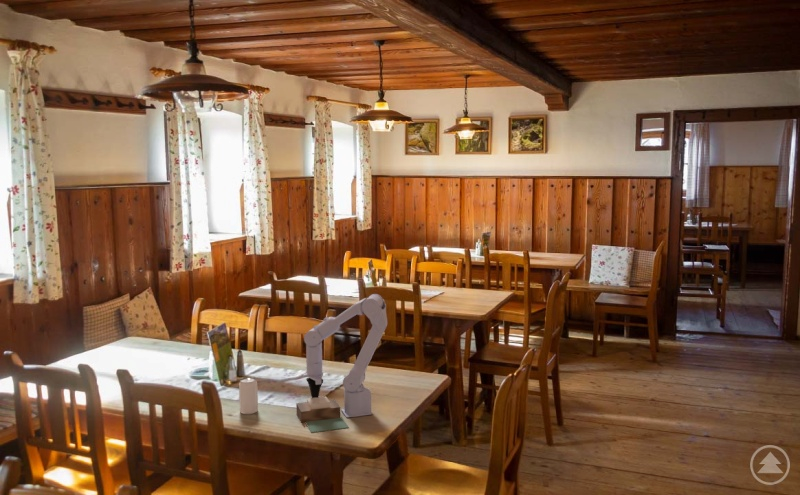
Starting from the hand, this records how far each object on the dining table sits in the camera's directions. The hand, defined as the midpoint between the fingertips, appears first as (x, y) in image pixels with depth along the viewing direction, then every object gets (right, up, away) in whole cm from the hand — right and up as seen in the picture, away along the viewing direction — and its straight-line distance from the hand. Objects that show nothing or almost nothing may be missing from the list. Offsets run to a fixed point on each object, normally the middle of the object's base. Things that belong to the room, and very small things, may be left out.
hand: (315, 397), depth 244 cm
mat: (+6, -7, -13) cm, 16 cm away
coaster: (+2, -2, -5) cm, 6 cm away
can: (-24, -5, 0) cm, 25 cm away
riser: (+2, -5, -5) cm, 7 cm away
